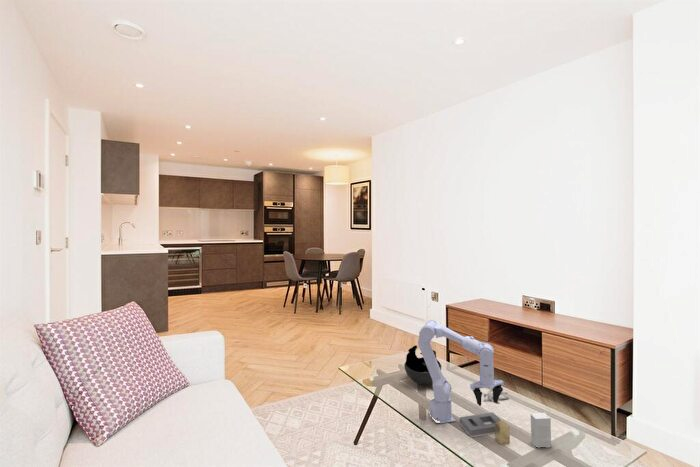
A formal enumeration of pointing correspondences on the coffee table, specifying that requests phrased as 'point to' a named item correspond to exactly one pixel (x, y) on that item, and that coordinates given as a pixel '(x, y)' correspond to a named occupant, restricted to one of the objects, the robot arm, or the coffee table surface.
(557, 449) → the coffee table surface
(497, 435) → the square bit
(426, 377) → the coal bowl
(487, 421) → the bit holder
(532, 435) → the skincare box
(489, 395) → the soldier figure
